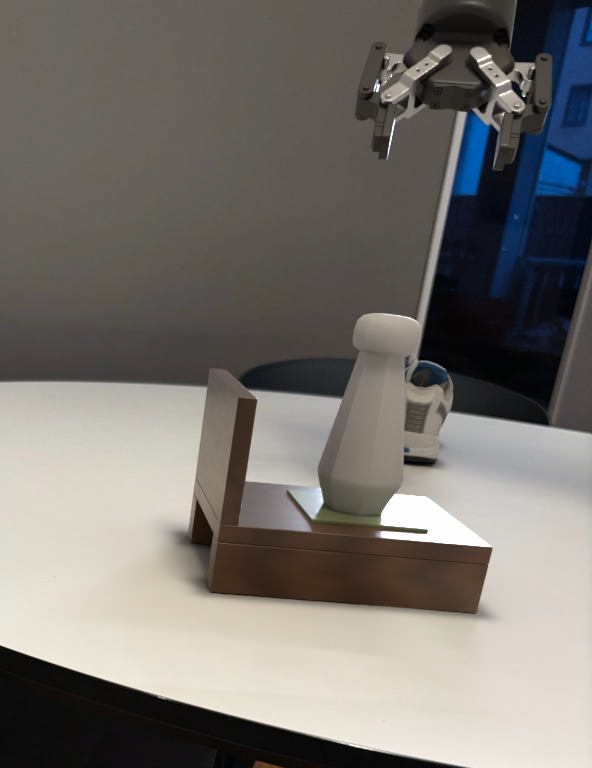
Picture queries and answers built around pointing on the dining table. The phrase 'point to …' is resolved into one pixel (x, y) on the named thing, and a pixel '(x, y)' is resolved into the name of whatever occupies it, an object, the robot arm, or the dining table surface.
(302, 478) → the dining table surface
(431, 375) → the athletic shoe
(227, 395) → the l-shaped wooden stand
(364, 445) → the salt shaker
